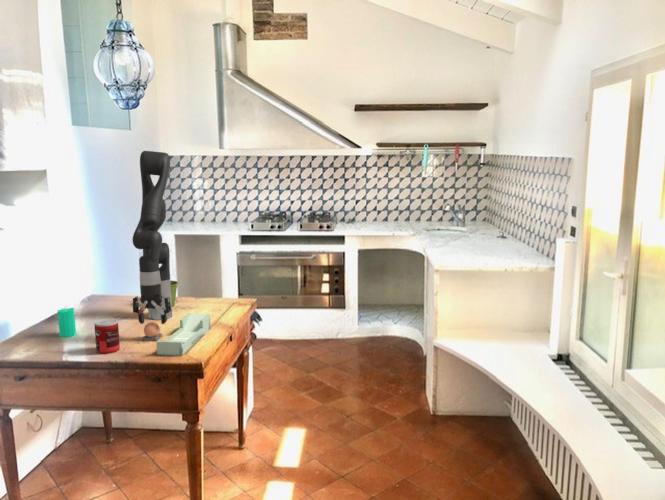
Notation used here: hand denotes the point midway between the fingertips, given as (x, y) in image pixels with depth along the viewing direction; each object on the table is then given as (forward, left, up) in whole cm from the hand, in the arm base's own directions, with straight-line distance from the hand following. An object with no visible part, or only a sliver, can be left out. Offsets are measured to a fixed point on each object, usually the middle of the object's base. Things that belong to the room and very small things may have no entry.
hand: (153, 323), depth 204 cm
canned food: (-11, -14, -7) cm, 19 cm away
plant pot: (-14, +46, -7) cm, 49 cm away
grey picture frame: (-1, 0, -6) cm, 6 cm away
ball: (-1, 0, -3) cm, 3 cm away
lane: (+13, -1, -6) cm, 15 cm away
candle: (-36, +1, -7) cm, 37 cm away
